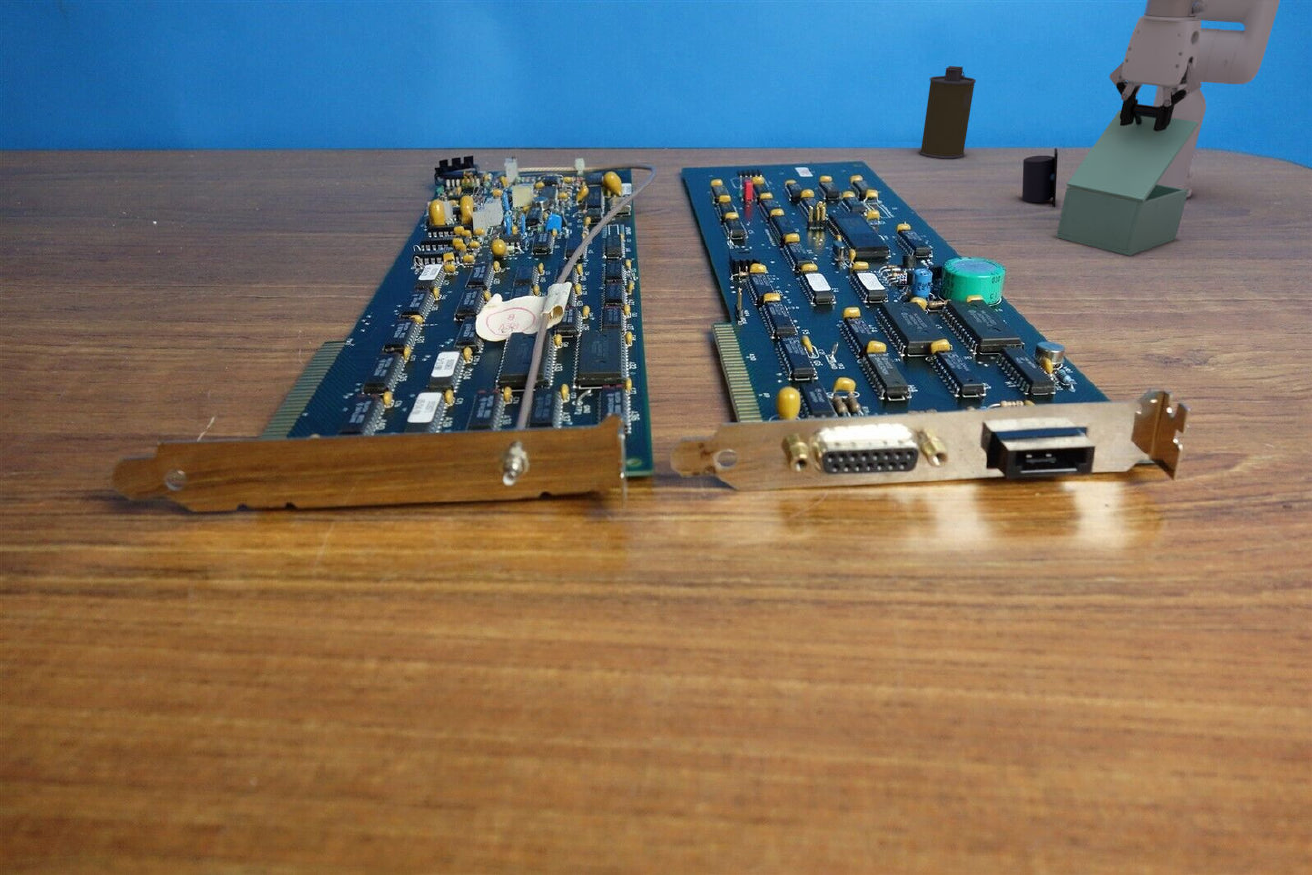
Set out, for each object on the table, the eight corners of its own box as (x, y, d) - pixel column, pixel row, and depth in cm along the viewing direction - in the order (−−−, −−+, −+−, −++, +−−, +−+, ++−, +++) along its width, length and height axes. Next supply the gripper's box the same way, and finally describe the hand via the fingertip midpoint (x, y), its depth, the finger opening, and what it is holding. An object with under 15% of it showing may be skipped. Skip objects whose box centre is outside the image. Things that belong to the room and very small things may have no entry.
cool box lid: (1119, 113, 163) (1114, 93, 160) (1198, 125, 154) (1194, 103, 150) (1067, 186, 162) (1061, 167, 159) (1143, 202, 153) (1138, 182, 149)
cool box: (1102, 223, 175) (1114, 175, 171) (1175, 240, 165) (1188, 190, 161) (1056, 237, 166) (1066, 187, 162) (1129, 256, 157) (1142, 204, 153)
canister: (956, 160, 222) (970, 71, 212) (913, 155, 227) (925, 67, 217) (969, 152, 230) (983, 66, 220) (928, 148, 235) (940, 63, 225)
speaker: (1064, 200, 189) (1069, 147, 184) (1054, 207, 185) (1059, 153, 180) (1027, 197, 193) (1030, 146, 188) (1016, 204, 189) (1020, 152, 185)
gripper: (1238, 11, 144) (1205, 132, 153) (1131, 4, 156) (1106, 117, 165) (1215, 14, 140) (1182, 138, 149) (1107, 7, 152) (1083, 122, 161)
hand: (1142, 126), depth 157 cm, fingers closed on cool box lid, 5 cm apart
